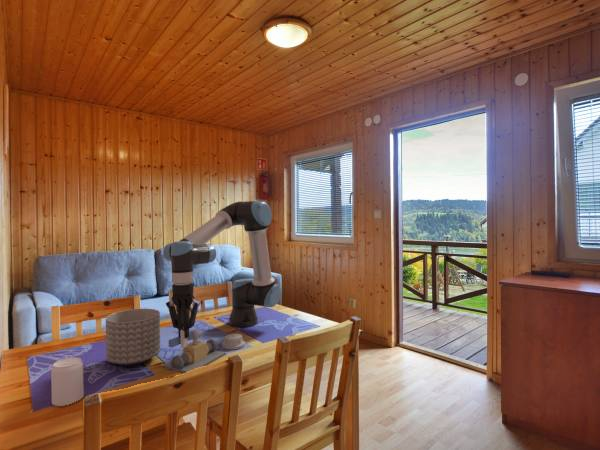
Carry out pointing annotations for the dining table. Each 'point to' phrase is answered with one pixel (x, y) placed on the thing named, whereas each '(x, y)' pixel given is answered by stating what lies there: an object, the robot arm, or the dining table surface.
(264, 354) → the dining table surface
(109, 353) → the planter
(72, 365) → the beverage can
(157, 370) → the dining table surface
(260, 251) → the robot arm
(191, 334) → the lever
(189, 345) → the valve assembly
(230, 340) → the mechanical component
